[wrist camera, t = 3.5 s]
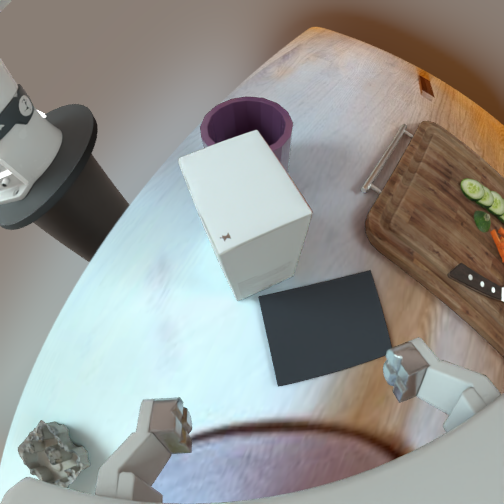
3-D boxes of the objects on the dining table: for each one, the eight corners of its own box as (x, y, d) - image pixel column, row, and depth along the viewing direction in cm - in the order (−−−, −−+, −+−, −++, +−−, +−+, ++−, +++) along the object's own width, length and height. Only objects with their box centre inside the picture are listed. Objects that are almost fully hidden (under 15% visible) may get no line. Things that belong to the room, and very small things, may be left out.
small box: (294, 276, 29) (316, 214, 16) (237, 303, 28) (216, 258, 16) (260, 212, 31) (257, 126, 19) (206, 235, 31) (174, 157, 19)
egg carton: (62, 493, 19) (45, 502, 15) (28, 449, 21) (9, 453, 17) (99, 463, 21) (80, 473, 18) (60, 413, 23) (39, 416, 20)
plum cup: (219, 216, 31) (205, 166, 23) (210, 158, 35) (197, 105, 26) (295, 201, 32) (304, 149, 23) (276, 146, 35) (278, 92, 26)
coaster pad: (278, 386, 25) (278, 386, 24) (258, 297, 28) (258, 296, 28) (391, 352, 25) (393, 352, 25) (369, 271, 28) (370, 270, 28)
